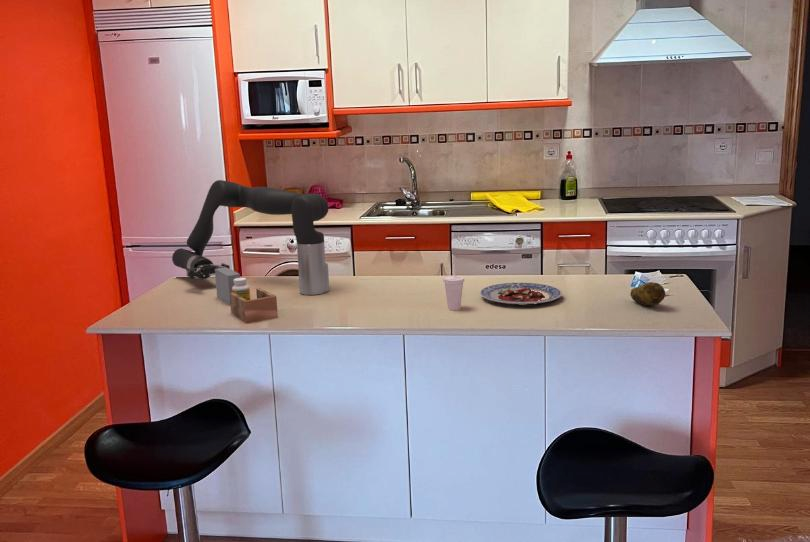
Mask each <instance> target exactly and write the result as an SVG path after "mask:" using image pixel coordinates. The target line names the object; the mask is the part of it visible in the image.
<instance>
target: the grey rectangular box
mask: <svg viewBox="0 0 810 542" xmlns="http://www.w3.org/2000/svg"><path fill="white" fill-rule="evenodd" d="M214 276H215V277H214V278H215V287H216V298H217V299H219V300H220V301H222V302H223V303H225V304H226V305H228V306H230V307H231V305H230V293H232V287H233V286H234V285H235V284H234V279H236V278H241V274H240V273H238V272H237V271H234V270H232V269H229V268H227V267H225V268H218V269H215V275H214Z"/></svg>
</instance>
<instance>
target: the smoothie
mask: <svg viewBox="0 0 810 542" xmlns="http://www.w3.org/2000/svg"><path fill="white" fill-rule="evenodd" d="M452 267H453V268H452V273H453V274H452V275H448V276H445V277H443V283H444V288H445V295H446V303H447V310H449V311H459V310H461V305H462V297H463V289H464V282H465V277H464V276H461V275H456V264H455V263H453V264H452Z"/></svg>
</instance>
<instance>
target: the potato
mask: <svg viewBox="0 0 810 542" xmlns="http://www.w3.org/2000/svg"><path fill="white" fill-rule="evenodd" d="M665 297H666V290H665V288H664V287H663V285H661V284H660V283H658V282H650V281H649V282H644V283H643V284H641V285H639V286H636V287H634V288H632V289H631V290H630V298H631V299H632V300H633V301H634V302H636V301H637V302H636V303H639V302H640V303H639V304H641V303H642V305H643V304H645V305H644V306H647V305H653V306H655V305H659V304H661V303H662V301H664V299H665Z"/></svg>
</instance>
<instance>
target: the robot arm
mask: <svg viewBox="0 0 810 542" xmlns="http://www.w3.org/2000/svg"><path fill="white" fill-rule="evenodd" d="M219 207H227V208H249V209H251V210H252V211H255V212H256V213H260V214H264V215H265V214H266V215H273V216H278V215H279V216H281V215H291V219H292V229H293V234H294V237H295V240H296V252H297V253H296V254H297V266H298V267H297V268H298V282H299V284H298V285H299V293H300V294H302V295H304V296H305V295H306V296H313V295H320V294H321V295H322V294H325V293H327V292H330V279H329V276H330V275H329V265H328V263H327V262H326V249H325V235H324V233H323V232H322V231H319V230H316V229H315V224H314V222H318V221H320V220H322V219H324V218H326V216H327V214H328V212H329V207H330V206H329V204H328V201H327V199H326V198H325V197H324V196H322V194H319V193H300V192H293V191H289V190H283V189H278V188H275V187H266V186H256V187H249V186H247V185H242V184H240V183H236V182H234V181H228V180H222V179H221V180H220V179H218V180H215V181H214V182H212V184H211V185H210V188H209V189H208V191H207V195H206V197H205V200H204V203H203V205H202V209H201V211H200V213H199V217H198V219H197V221H196V223H195V225H194V227H193V229H192V231H191V233H189V236H188V237H187V240H186V245H187V247H189V250H188V249H186V248H181V247H180V248H177V249H176V250H175V251H174V252H173V253H172V256H171V261H172V263H173V265H174V266H176V267H177V268H181V269H184V270H185V271H186V276H187V278H189V279H190V280H191V279H194V278H195V279H200V280H207V279H208V278H210V277H211V276H213V275H214V276H215V269H218V268H225V267H227V268H229V269H230V267H231V266H230V265H229V264H226V263H223V262H222V263H220V264H214V263H213V261H212V260H211V259H209V258H207V257H205V256H203V255H204V251H205V248H206V246H207V245H208V243H209V241H210V240H211V238H212V235H213V234H214V233H213V232H214V215H215V213H216V211H217V210H218V208H219ZM190 249H191V250H192V251H191V250H190Z"/></svg>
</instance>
